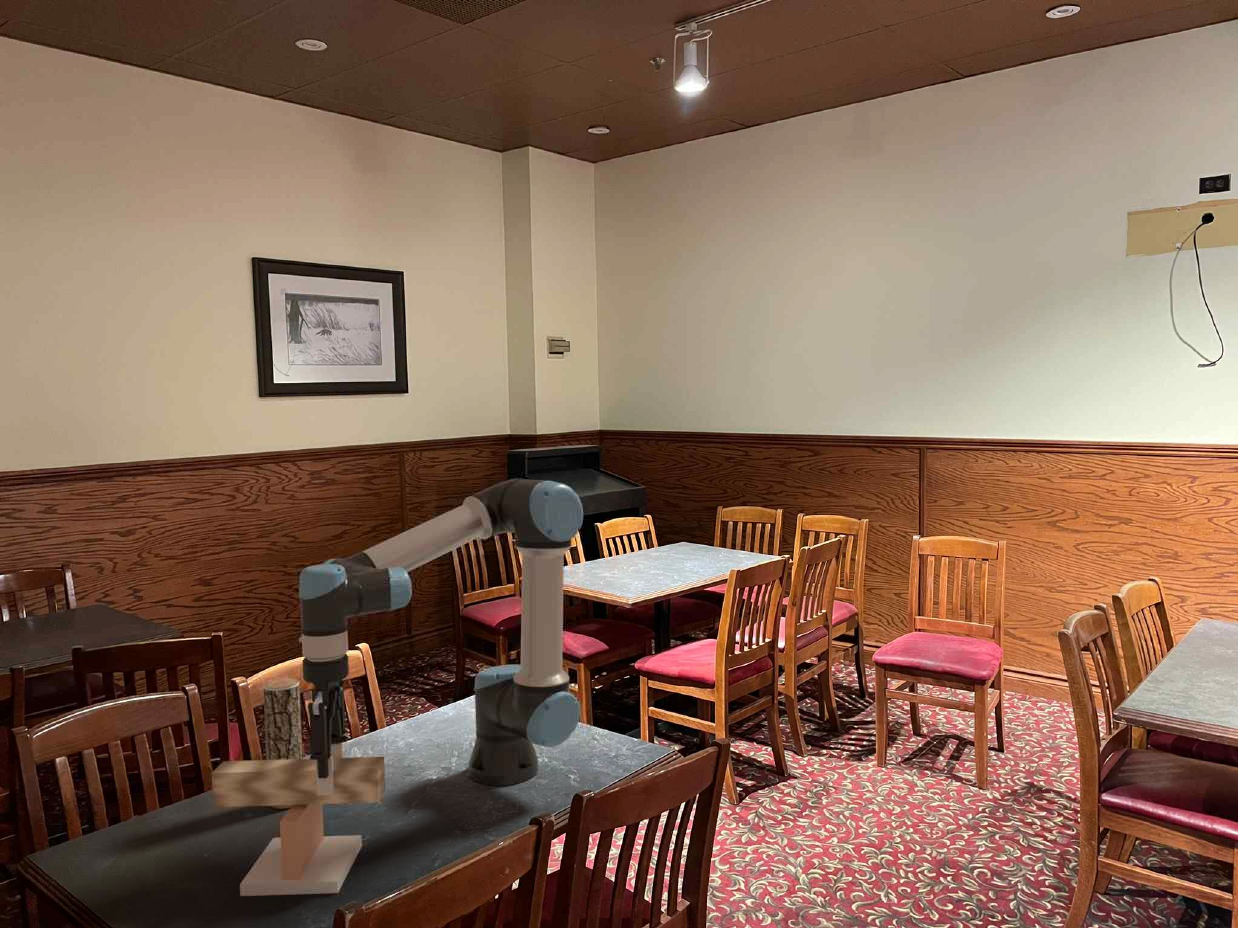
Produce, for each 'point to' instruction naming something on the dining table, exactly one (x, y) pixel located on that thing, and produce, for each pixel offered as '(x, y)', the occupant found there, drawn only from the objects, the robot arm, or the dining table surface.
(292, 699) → the bark-covered stump
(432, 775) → the dining table surface
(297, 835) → the balance stand
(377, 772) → the birch beam
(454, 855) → the dining table surface
